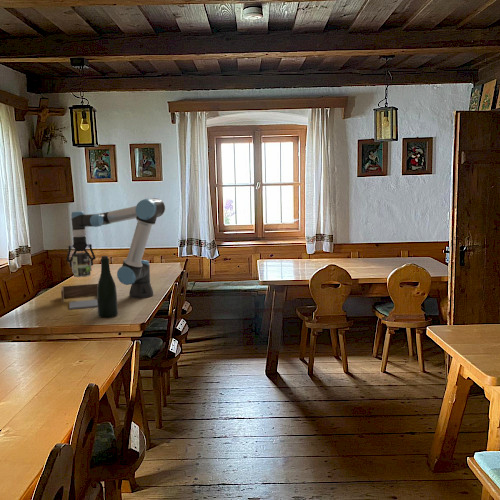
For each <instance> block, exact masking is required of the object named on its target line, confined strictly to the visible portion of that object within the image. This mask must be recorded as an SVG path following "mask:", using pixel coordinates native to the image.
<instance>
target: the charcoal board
mask: <svg viewBox="0 0 500 500" xmlns="http://www.w3.org/2000/svg"><path fill="white" fill-rule="evenodd" d="M68 306H69V307H68V308H69V310H80V309H81V310H82V309H88V308H89V309H91V308H98V303H97V299H88V300H77V301H76V300H75V301H69V305H68Z"/></svg>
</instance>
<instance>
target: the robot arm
mask: <svg viewBox="0 0 500 500" xmlns="http://www.w3.org/2000/svg"><path fill="white" fill-rule="evenodd" d="M165 211H166V205H165V203H164V202H163V200H161V199H160V198H155V197H154V198H145V199H142V200H140V201H138V202H137V204H136V205H135V206H130V207H125V208H121V209H115V210H112V211H106V212H100V213H94V214H93V213H91V214H86V213H85V212H84V211H83V210H82V211H77V210H76V211H72V212H71V215H70V216H71V219H70V220H71V227H72V228H71V229H72V236H73V238H72V241H73V244H72V245H70V244H69V245H68V251H67V256H66V262H69V267H70V268H71V272H72V273H73V274H74V271H73V256H72V255H71V251H72V249H74V251H73V253H72V254H73V255H75V254H76V253H78V252H84V253H86V254H88V253H89V252H88V250H87V249H86V248H87V247H88V248H89V250H90V253H91V254H89V259H90V272H92V271H93V270H92V266H94V260H96V256H95V253H94V250H93V248H92V247H93V246H92V244H91V243H88V244H87V237H86V227H87V228H88V227H93V228H97V227H102V226H105V225H111V224H113V223H114V224H115V223H118V222H124V221H130V220H134V219H136V221H137V224H136V227H135V229H134V234H133V236H132V240H131V243H130V247H129V251H128V253H127V257H126V258H125V259H123V261H122V264H121V265H122V266H121V267H119V268H118V269H117V272H116V276H117V280H118V281H119V283H121V284H123V285H125V286H129V285H130V288H129V298H132V299H133V298H134V299H144V298H150V297H153V296H154V290H153V288H152V284H151V270H150V266H151V265H150V261H149V260H145V259H143V256H144V253H145V250H146V246H147V243H148V239H149V236H150V233H151V230H152V226H154V225H156V221H157V219H158V218H159V217H161V216H163V215H164V213H165ZM91 255H92V256H91ZM70 256H71V257H70Z"/></svg>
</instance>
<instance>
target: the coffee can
mask: <svg viewBox="0 0 500 500" xmlns="http://www.w3.org/2000/svg"><path fill="white" fill-rule="evenodd" d="M89 255H90V252H88V254H86V253H85V252H76V254H75V255H73V253H72V254H71V257H72V256H73V260H72V262H73V271H74V273H73V277H74V278H86V277H90V276H91V272H92V271H90V258H89Z"/></svg>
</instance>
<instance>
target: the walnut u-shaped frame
mask: <svg viewBox="0 0 500 500" xmlns="http://www.w3.org/2000/svg"><path fill="white" fill-rule="evenodd" d="M97 286H98V283H91V284H90V283H88V284H76V285H67V286H66V285H64V286H61V290H60V292H61V293H60V295H61V303H64V301H65V298H74V297H86V296H94V295H95V296H97Z"/></svg>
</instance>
